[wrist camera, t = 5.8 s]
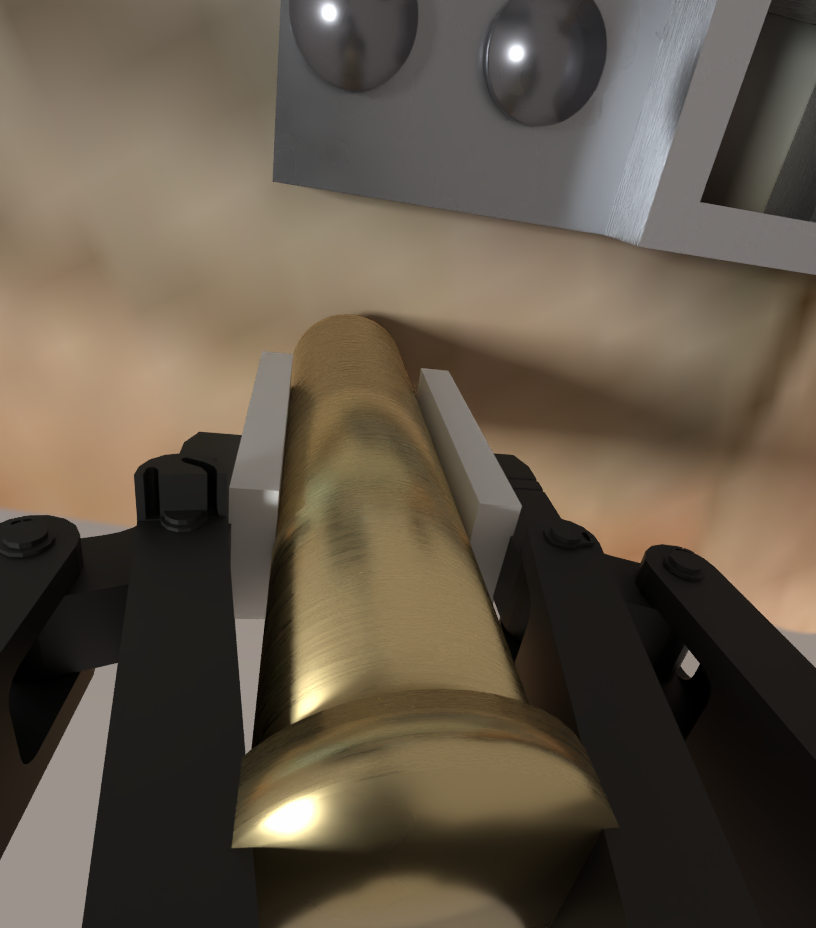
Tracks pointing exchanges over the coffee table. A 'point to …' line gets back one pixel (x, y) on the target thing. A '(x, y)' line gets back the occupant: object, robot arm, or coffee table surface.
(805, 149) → the riveted socket bracket
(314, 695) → the brass pin
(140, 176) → the coffee table surface
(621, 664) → the robot arm
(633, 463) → the coffee table surface
